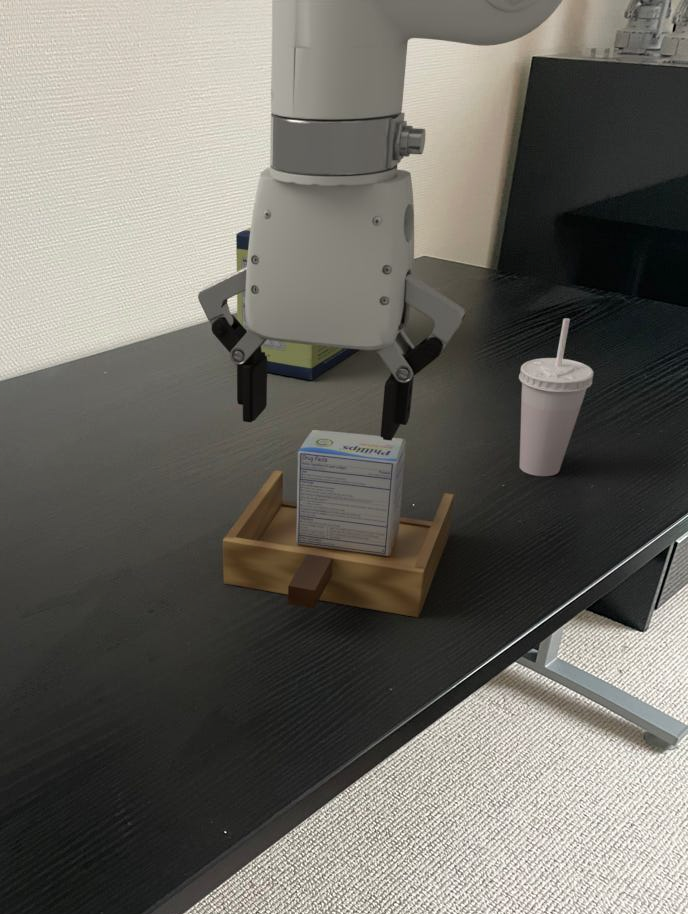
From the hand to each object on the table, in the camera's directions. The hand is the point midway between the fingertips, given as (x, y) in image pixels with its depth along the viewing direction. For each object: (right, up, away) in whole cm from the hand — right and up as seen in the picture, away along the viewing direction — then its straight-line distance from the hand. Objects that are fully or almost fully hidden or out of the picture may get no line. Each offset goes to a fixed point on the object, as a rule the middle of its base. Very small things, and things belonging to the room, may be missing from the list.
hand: (321, 423), depth 67 cm
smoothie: (+24, +1, +27) cm, 36 cm away
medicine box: (+4, -7, +15) cm, 17 cm away
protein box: (+4, +20, +55) cm, 59 cm away
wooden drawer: (+2, -9, +12) cm, 15 cm away
